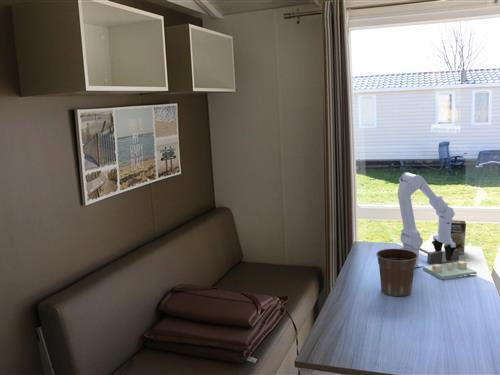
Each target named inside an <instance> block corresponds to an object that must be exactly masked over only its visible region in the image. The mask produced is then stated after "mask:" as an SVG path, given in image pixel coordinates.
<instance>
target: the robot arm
mask: <svg viewBox="0 0 500 375" xmlns="http://www.w3.org/2000/svg"><path fill="white" fill-rule="evenodd" d="M398 181H399V185H398V190H397V198H398V202H399V203H398V204H399V209H400V215H401V222H402V226H403V227H402V229H401V230H400V232H401V233H400V242H401V243H402V247H401V248H400V247H399V249H404V250H409V251H412V252H415V253H416V254H417V255H418V257H417V259H416V264H415V266H414V269H415V268H423V265H422V264H421V263H419V260H420V250H419V249H420V248H421V247H422V245H423V237H422V236H421V234H420V231H419V230H418V229H417V227H416V220H415V216H414V209H413V204H412V203H413V202H412V197H411V196H412V195H414V193H415V192H417V191H418V190H420V191H421V192H422V193H423V195H424V196H426V197H427V199H428V203H429V204H430V205H431V207H432V209H434V210H435V214H436V215H437V216H438V223H437V224H438V229H437V234H436V235H435V234H434V235H433V236H432V241H431V243H432V245H433V248H434V251H442V250H444V249H445V253H446V260H451V257H452V254H453V252H454V250H455V249H456V243H454V242H453V241H452V239H451V222H452V220H453V218H454V216H455V211H454V209H453V208H452V207H450V206H449V204H448V203H447V202H446V201H445V200H444V199H443V196H442V195H439V194H436V193H435V192H434V191H433V190H432V188H431V187H430V186H429V184H428V183H427V182H426V179H424V178H423V176H421V175H420V174H413V173H411V172H404V173H403V174H401V176H400V177H399V178H398ZM445 244H446V245H448V246H443V245H445ZM443 248H444V249H443Z"/></svg>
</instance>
